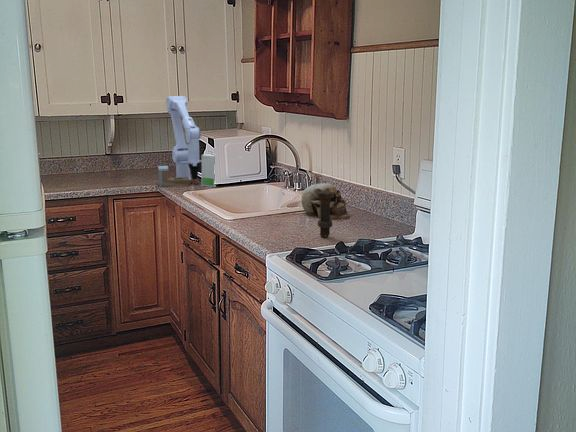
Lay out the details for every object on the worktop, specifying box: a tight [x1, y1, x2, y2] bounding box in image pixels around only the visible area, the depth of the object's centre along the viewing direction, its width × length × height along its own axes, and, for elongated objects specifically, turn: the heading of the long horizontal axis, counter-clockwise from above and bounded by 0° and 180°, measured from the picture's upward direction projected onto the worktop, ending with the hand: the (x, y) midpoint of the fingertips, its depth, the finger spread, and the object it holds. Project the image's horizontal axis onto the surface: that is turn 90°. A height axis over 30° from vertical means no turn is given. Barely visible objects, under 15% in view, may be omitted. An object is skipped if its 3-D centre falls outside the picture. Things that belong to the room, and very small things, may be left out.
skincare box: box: [201, 153, 217, 188], centre depth 297 cm, size 8×7×16 cm
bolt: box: [317, 191, 334, 239], centre depth 196 cm, size 6×5×15 cm
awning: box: [157, 165, 169, 188], centre depth 299 cm, size 11×5×9 cm, turn 12°
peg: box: [190, 173, 198, 185], centre depth 306 cm, size 3×3×8 cm
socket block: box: [162, 176, 190, 188], centre depth 301 cm, size 10×13×3 cm
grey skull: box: [301, 182, 351, 220], centre depth 230 cm, size 16×17×13 cm
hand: (194, 178), depth 306 cm, fingers open, 5 cm apart
